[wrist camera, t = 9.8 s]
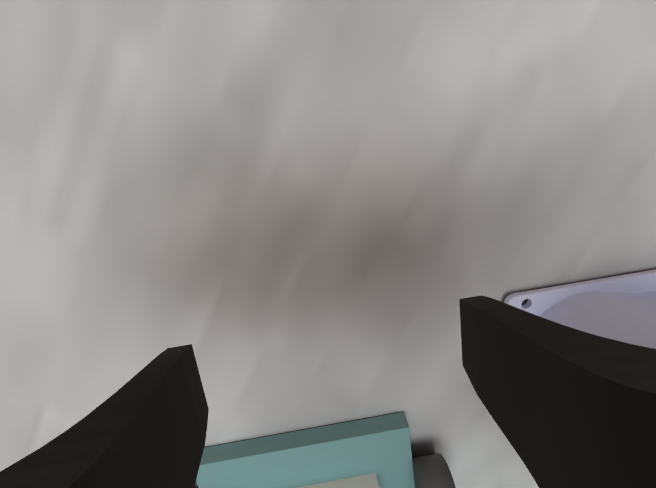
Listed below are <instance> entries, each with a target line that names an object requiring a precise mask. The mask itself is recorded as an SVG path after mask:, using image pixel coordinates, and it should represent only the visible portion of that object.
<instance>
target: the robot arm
mask: <svg viewBox="0 0 656 488" xmlns="http://www.w3.org/2000/svg"><path fill="white" fill-rule="evenodd" d="M525 299H528V301H527V303H526V304H524V305H521V304H522V302H523V301H524V300H525ZM460 318H461V339H462V360H463V366H464V369H465V371H466V373H467V375H468V377H469V379H470V381H471V383H472V385H473V387H474V389H475V391H476V393H477V395H478V396H479V398H480V399H481V401H482V403H483V404H484V405H485V407H486V408H487V410H488V411H489V413H490V414H491V416H492V417H493V419H494V420H495V422H496V423H497V425H498V426H499V427H500V429H501V430H502V432H503V433H504V435H505V436H506V438H507V439H508V440H509V442H510V443H511V445H512V446H513V448H514V449H515V451H516V452H517V453H518V455H519V456H520V458H521V459H522V461H523V462H524V464H525V465H526V467H527V468H528V470H529V472H530V473H531V475H532V476H533V478H534V479H535V481H536V483H537V485H538V487H539V488H656V269H655V270H649V271H643V272H637V273H631V274H625V275H619V276H613V277H607V278H601V279H596V280H590V281H584V282H578V283H572V284H566V285H560V286H554V287H548V288H542V289H536V290H530V291H524V292H518V293H513V294H510V295H509V296H507V297H506V299H505V300H504V303H503V302H501V301H498V300H495V299H492V298H489V297H485V296H476V297H470V298H464V299H460ZM208 410H209V409H208V406H207V402H206V398H205V394H204V390H203V386H202V383H201V379H200V375H199V371H198V367H197V363H196V360H195V356H194V352H193V348H192V344H191V345H185V346H179V347H173V348H168V349H166V350H165V351H164V352H162V353H161V354H160V355H159V356H157V357H156V358H155V359H154V360H153V361H151V362H150V363H149V364H148V365H147V366H146V367H145V368H143V369H142V370H141V371H140V372H139V373H138V374H137V375H135V376H134V377H133V378H132V379H131V380H130V381H129V382H127V383H126V384H125V385H124V386H123V387H122V388H121V389H119V390H118V391H117V392H116V393H115V394H113V395H112V396H111V397H110V398H108V399H107V400H106V401H105V402H103V403H102V404H101V405H100V406H98V407H97V408H96V409H95V410H93V411H92V412H91V413H90V414H88V415H87V416H86V417H85V418H83V419H82V420H81V421H79V422H78V423H76V424H75V425H74V426H72V427H71V428H70V429H68V430H67V431H65V432H64V433H62V434H61V435H59V436H58V437H56V438H55V439H53V440H52V441H50V442H49V443H47V444H46V445H44V446H43V447H41V448H40V449H38V450H36V451H35V452H33V453H31V454H30V455H28V456H26V457H25V458H23V459H21V460H19V461H18V462H16V463H14V464H13V465H11V466H9V467H8V468H6V469H4V470H3V471H1V472H0V488H194V486H195V482H196V478H197V475H198V471H199V466H200V462H201V458H202V454H203V450H204V446H205V439H206V430H207V420H208Z"/></svg>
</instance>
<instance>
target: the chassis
mask: <svg viewBox="0 0 656 488" xmlns="http://www.w3.org/2000/svg"><path fill="white" fill-rule="evenodd" d="M196 481H197V485H198V488H455V484H454V481H453V478H452V475H451V473H450V470H449V468H448V465H447V463H446V461H445V459H444V457H443V456H442V455H441V454H440V453H437V454H432V455H426V456H421V457H415V458H412V452H411V442H410V432H409V426H408V423H407V421H406V418H405V415H404V413H403V412H399V413H394V414H388V415H383V416H377V417H372V418H366V419H360V420H355V421H349V422H344V423H338V424H333V425H327V426H322V427H316V428H310V429H305V430H299V431H294V432H288V433H283V434H277V435H271V436H266V437H260V438H255V439H249V440H244V441H238V442H233V443H227V444H221V445H216V446H210V447H205V448H204V450H203V454H202V458H201V462H200V466H199V471H198V475H197V478H196Z"/></svg>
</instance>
